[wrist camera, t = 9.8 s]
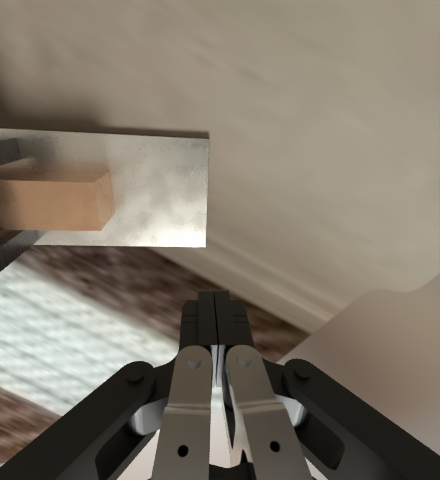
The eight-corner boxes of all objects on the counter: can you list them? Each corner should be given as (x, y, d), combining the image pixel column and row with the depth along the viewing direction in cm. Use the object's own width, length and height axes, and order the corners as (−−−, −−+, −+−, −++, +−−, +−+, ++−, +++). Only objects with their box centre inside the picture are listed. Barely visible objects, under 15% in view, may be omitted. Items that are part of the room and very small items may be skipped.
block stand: (-132, 121, 25) (-292, 127, 17) (209, 138, 28) (214, 151, 20) (-80, 240, 30) (-184, 290, 22) (205, 244, 33) (208, 290, 25)
